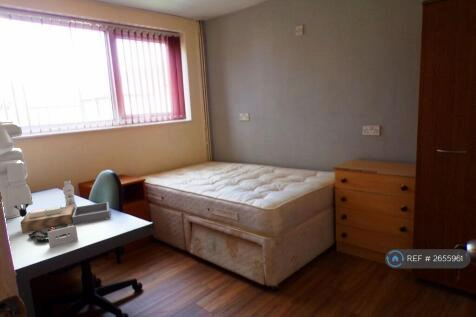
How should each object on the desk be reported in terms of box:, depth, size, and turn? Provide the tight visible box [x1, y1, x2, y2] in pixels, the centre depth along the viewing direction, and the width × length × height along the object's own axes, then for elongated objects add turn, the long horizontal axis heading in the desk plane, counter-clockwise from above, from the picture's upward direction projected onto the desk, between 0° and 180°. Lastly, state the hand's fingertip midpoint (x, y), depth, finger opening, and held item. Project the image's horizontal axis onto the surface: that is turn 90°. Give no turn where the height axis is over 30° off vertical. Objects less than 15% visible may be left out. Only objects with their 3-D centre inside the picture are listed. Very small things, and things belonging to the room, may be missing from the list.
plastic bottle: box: [62, 179, 78, 209], centre depth 207 cm, size 6×7×20 cm
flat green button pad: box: [28, 224, 70, 243], centre depth 166 cm, size 18×18×5 cm
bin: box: [72, 201, 111, 226], centre depth 194 cm, size 19×22×4 cm
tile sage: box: [46, 205, 62, 215], centre depth 186 cm, size 7×7×2 cm
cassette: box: [47, 224, 79, 249], centre depth 153 cm, size 12×2×8 cm, turn 125°
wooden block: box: [20, 205, 75, 234], centre depth 186 cm, size 24×20×6 cm
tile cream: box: [30, 207, 48, 218], centre depth 183 cm, size 7×7×2 cm
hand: (23, 216), depth 180 cm, fingers closed
